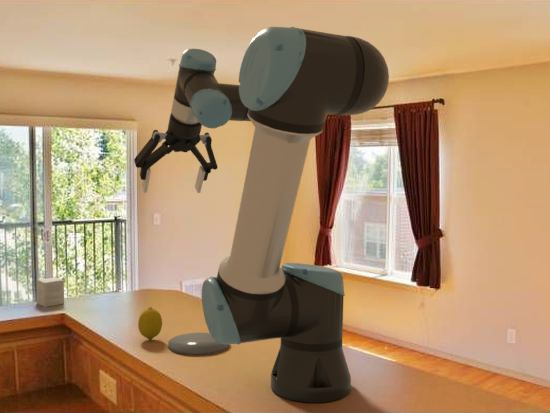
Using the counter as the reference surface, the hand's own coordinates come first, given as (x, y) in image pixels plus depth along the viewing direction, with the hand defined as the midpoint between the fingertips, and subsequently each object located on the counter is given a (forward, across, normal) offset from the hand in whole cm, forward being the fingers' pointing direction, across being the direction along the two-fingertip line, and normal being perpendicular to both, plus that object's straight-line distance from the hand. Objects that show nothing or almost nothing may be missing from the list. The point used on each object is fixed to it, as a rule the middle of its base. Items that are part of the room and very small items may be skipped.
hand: (171, 189), depth 140 cm
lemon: (+26, +6, +26) cm, 37 cm away
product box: (+54, +25, -12) cm, 61 cm away
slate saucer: (+20, -3, +33) cm, 39 cm away
